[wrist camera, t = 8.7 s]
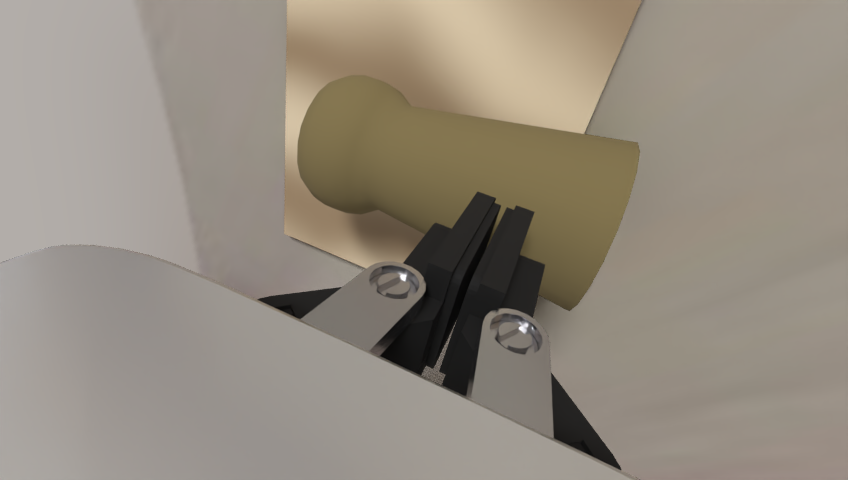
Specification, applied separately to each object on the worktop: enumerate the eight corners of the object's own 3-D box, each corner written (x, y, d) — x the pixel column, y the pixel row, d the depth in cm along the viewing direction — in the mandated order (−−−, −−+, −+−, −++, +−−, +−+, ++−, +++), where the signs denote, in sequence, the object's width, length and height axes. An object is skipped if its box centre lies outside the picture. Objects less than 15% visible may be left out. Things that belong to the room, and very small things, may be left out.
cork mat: (503, 319, 21) (500, 325, 21) (289, 229, 24) (284, 233, 24) (702, -142, 11) (705, -147, 11) (299, -209, 14) (289, -216, 14)
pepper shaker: (551, 334, 15) (298, 232, 18) (586, 211, 18) (364, 137, 20) (617, 257, 10) (246, 127, 12) (652, 102, 13) (345, 18, 15)
